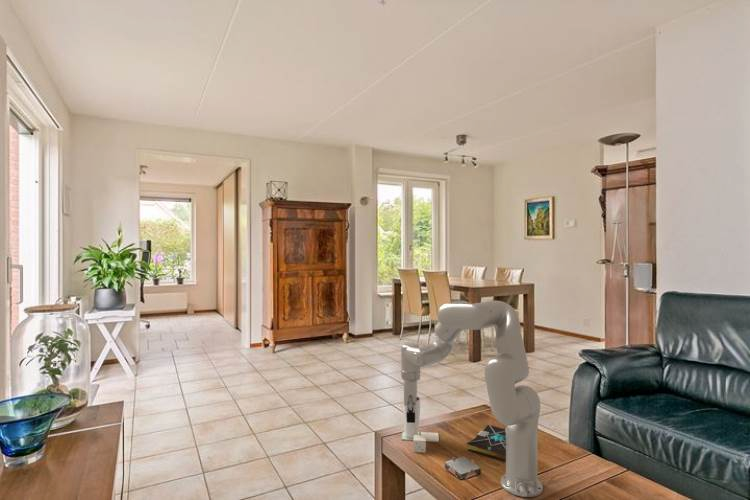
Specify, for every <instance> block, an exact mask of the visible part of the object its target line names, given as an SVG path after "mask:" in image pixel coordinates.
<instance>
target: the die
mask: <svg viewBox="0 0 750 500" xmlns="http://www.w3.org/2000/svg"><path fill="white" fill-rule="evenodd" d="M412 442H413V444H412V445H413V446H412V447H413V448H412V449H413V453H423V454H425V453H426V452H427V450H426V448H427V441H426V436H425V435H421V434H420V435H414V439H413V441H412Z"/></svg>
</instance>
